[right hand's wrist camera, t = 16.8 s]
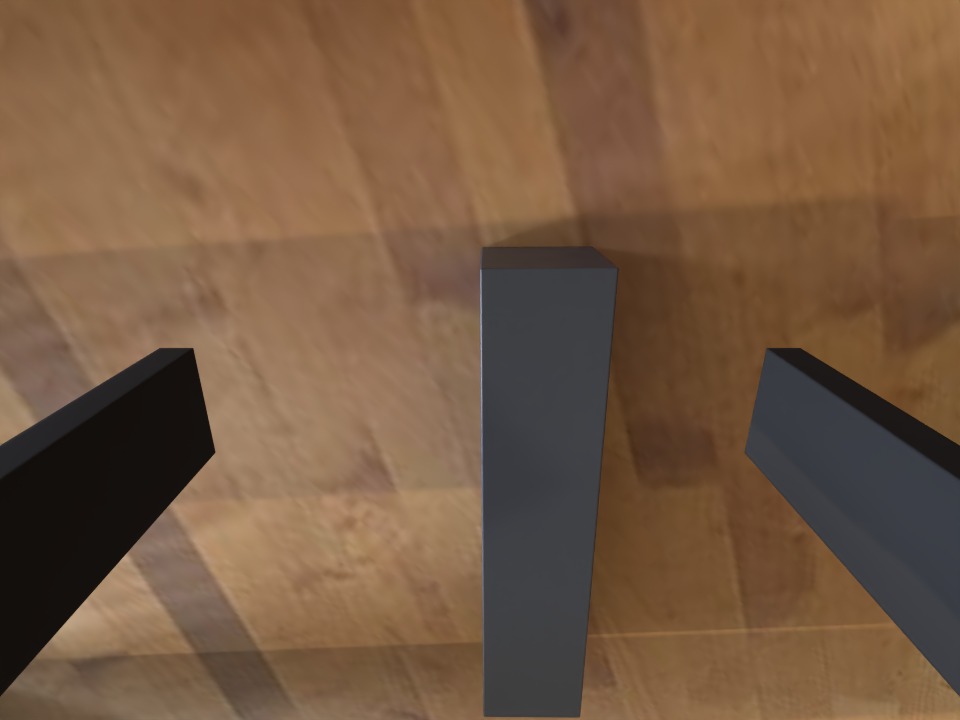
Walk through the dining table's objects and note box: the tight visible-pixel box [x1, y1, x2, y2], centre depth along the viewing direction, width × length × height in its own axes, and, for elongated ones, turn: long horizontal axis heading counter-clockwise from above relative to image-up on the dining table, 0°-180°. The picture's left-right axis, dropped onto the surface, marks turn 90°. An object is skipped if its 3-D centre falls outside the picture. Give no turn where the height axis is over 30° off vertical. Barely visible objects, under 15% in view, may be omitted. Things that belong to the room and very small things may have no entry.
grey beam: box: [480, 247, 618, 717], centre depth 31 cm, size 6×28×6 cm, turn 1°
